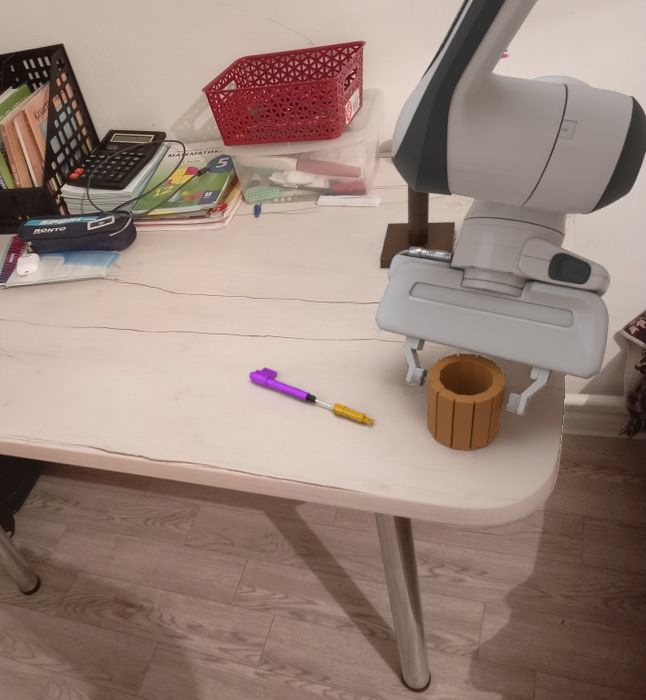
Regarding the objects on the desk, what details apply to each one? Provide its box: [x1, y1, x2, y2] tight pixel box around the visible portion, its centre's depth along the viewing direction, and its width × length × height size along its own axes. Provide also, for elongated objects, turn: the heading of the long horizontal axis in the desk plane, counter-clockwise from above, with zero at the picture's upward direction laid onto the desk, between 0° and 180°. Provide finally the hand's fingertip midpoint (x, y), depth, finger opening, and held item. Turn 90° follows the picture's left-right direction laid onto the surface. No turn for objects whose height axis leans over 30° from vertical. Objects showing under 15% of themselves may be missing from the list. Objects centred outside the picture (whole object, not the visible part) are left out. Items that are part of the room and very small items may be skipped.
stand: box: [379, 184, 456, 269], centre depth 83 cm, size 9×9×12 cm
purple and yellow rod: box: [248, 367, 375, 425], centre depth 71 cm, size 3×1×16 cm
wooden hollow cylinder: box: [426, 353, 506, 451], centre depth 61 cm, size 7×7×7 cm
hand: (462, 398), depth 61 cm, fingers open, 8 cm apart
